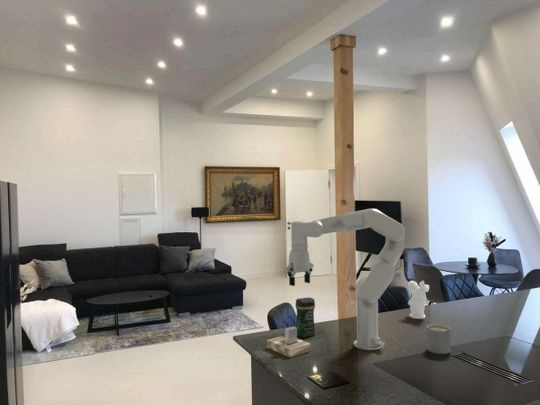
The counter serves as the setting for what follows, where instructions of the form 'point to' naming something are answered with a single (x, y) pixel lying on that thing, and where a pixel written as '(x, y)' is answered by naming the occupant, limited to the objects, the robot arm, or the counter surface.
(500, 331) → the counter surface
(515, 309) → the counter surface
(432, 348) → the coffee mug
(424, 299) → the cherub figurine
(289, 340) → the bracket
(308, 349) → the block
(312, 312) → the coffee jar
